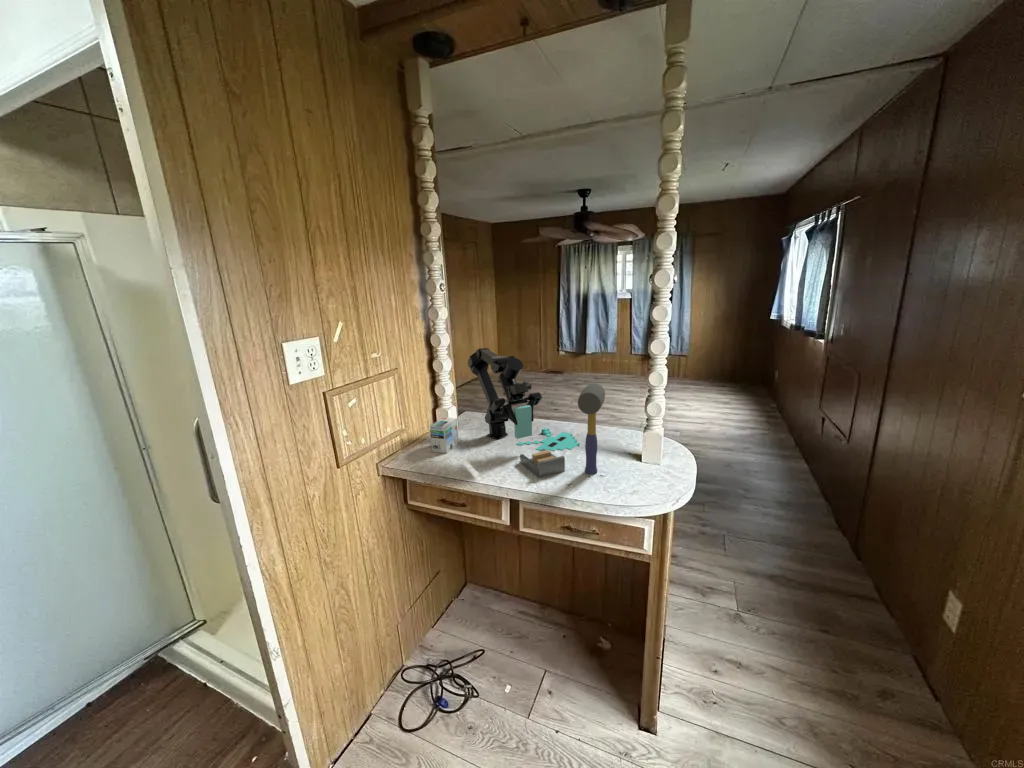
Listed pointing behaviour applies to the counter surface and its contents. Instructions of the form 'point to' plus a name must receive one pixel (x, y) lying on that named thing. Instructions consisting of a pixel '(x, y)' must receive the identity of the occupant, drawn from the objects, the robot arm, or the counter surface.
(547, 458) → the offcut
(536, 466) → the rack
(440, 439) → the light bulb box
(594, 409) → the rubber mallet
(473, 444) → the counter surface
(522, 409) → the teal rectangular block
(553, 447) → the alien figure
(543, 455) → the offcut
